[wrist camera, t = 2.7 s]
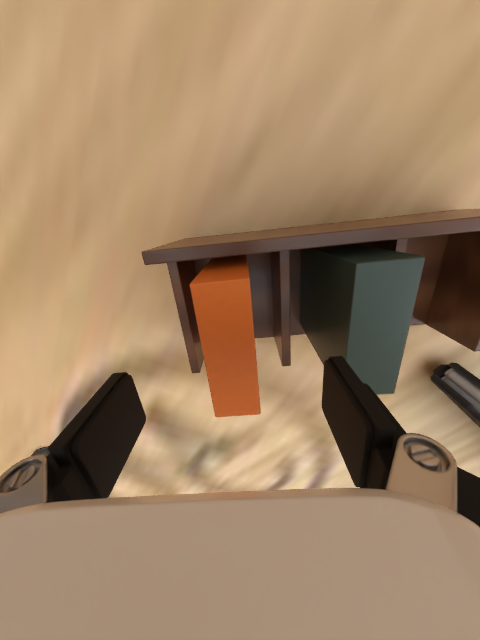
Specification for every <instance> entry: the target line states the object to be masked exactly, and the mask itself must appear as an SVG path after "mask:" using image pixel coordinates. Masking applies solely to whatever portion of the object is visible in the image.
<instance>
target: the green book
mask: <svg viewBox="0 0 480 640" xmlns="http://www.w3.org/2000/svg"><path fill="white" fill-rule="evenodd" d="M424 261H425V257H424V256H419V255H414V254H408V253H403V252H398V251H393V250H388V249H383V248H377V247H372V246H367V245H362V244H348V245H338V246H328V247H318V248H308V249H301V267H300V324H301V326H302V328H303V330H304V331H305V333H306V335H307V337H308V338H309V340H310V342H311V344H312V345H313V347H314V349H315V351H316V352H317V354H318V356H319V358H320V359H321V361H322V363H323V365H324V361H325V360H328V358H329V357H332V356H343V357H344V359H345V360H346V361H347V363H348V364H349V365H350V367H351V368H352V369H353V371H354V372H355V373H356V375H357V376H358V377H359V379H360V380H361V381H362V383H366V384H368V385H369V386H370V387H371V389H372V390H373V391H374V392H375V394H376V395H383V394H393V393H394V391H395V387H396V383H397V378H398V374H399V370H400V365H401V361H402V357H403V352H404V348H405V344H406V339H407V335H408V331H409V326H410V322H411V318H412V313H413V309H414V305H415V300H416V296H417V292H418V287H419V283H420V279H421V274H422V270H423V266H424Z"/></svg>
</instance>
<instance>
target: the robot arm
mask: <svg viewBox="0 0 480 640" xmlns="http://www.w3.org/2000/svg"><path fill="white" fill-rule="evenodd" d="M322 409H323V412H324V415H325V417H326V419H327V422H328V424H329V426H330V429H331V431H332V433H333V436H334V438H335V440H336V443H337V445H338V447H339V450H340V452H341V454H342V457H343V459H344V461H345V464H346V466H347V468H348V471H349V473H350V475H351V478H352V480H353V482H354V484H355V486H356V487H360V488H324V489H291V490H267V491H243V492H221V493H200V494H179V495H158V496H140V497H121V498H108V497H109V495H110V493H111V491H112V489H113V487H114V485H115V483H116V481H117V479H118V477H119V475H120V473H121V471H122V469H123V467H124V465H125V463H126V461H127V459H128V457H129V455H130V453H131V451H132V449H133V447H134V445H135V443H136V441H137V439H138V437H139V434H140V432H141V430H142V428H143V426H144V424H145V421H146V415H145V413H144V410H143V407H142V404H141V401H140V398H139V396H138V393H137V390H136V387H135V384H134V381H133V379H132V376H131V375H128V373H126V372H123V373H114V374H112V375H111V376H110V377H109V378H108V380H107V381H106V382H105V383H104V384H103V385H102V386H101V388H100V389H99V390H98V391H97V392H96V393H95V394H94V396H93V397H92V398H91V399H90V400H89V401H88V402H87V404H86V405H85V406H84V407H83V408H82V409H81V410H80V412H79V413H78V414H77V415H76V416H75V417H74V418H73V420H72V421H71V422H70V423H69V424H68V425H67V426H66V428H65V429H64V430H63V431H62V432H61V433H60V434H59V436H58V437H57V438H56V439H55V440H54V441H53V443H52V444H51V445H50V446H49V447H48V448H47V449H48V450H49V452H50V453H49V454H48V455H47V456H46V457H45V456H43V455H35V456H31V457H28V458H26V459H23V460H21V461H20V462H18V463H16V464H15V465H13V466H12V467H11V468H9V469H8V470H7V471H6V472H4V473H3V474H2V475H1V476H0V640H480V478H479V477H477V476H475V475H473V474H471V473H469V472H466V471H464V470H462V469H460V468H458V467H457V464H456V460H455V459H454V457H453V456H452V454H451V453H450V452H449V451H448V450H447V449H446V448H445V447H444V446H443V445H441V444H440V443H438V442H437V441H435V440H433V439H431V438H429V437H427V436H424V435H421V434H415V433H408V434H407V433H406V432H405V431H404V429H403V428H402V427H401V426H400V424H399V423H398V422H397V421H396V419H395V418H394V417H393V415H392V414H391V413H390V412H389V410H388V409H387V408H386V406H385V405H384V404H383V403H382V401H381V400H380V399H379V398H378V396H377V395H376V394H375V392H374V391H373V390H372V389H371V387H370V386H369V385H368V384H366V383H362V381H361V380H360V379H359V377H358V376H357V375H356V373H355V372H354V371H353V369H352V368H351V367H350V365H349V364H348V363H347V361H346V360H345V359H344V357H343V356H332V357H329V358H328V360H325V361H324V375H323V392H322Z"/></svg>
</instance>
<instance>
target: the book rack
mask: <svg viewBox="0 0 480 640" xmlns="http://www.w3.org/2000/svg"><path fill="white" fill-rule="evenodd" d="M348 244H362V245H367V246H372V247H377V248H383V249H388V250H393V251H398V252H403V253H408V254H414V255H419V256H424V257H425V261H424V266H423V270H422V274H421V279H420V283H419V287H418V292H417V296H416V300H415V305H414V309H413V313H412V318H411V322H410V325H420V324H426V325H428V326H430V327H432V328H433V329H435V330H437V331H439V332H441V333H442V334H444V335H446V336H448V337H449V338H451V339H453V340H455V341H457V342H458V343H460V344H462V345H464V346H466V347H467V348H469V349H471V350H473V351H480V209H465V210H451V211H442V212H432V213H423V214H414V215H404V216H395V217H385V218H376V219H367V220H357V221H348V222H338V223H329V224H319V225H310V226H301V227H291V228H282V229H272V230H263V231H254V232H244V233H235V234H225V235H216V236H206V237H197V238H188V239H182V240H179V241H176V242H172V243H169V244H166V245H162V246H159V247H156V248H152V249H149V250H146V251H143V252H142V256H143V260H144V263H145V265H150V264H160V263H167V265H168V269H169V274H170V278H171V282H172V287H173V291H174V296H175V300H176V304H177V309H178V313H179V318H180V322H181V326H182V331H183V335H184V340H185V344H186V348H187V353H188V357H189V362H190V366H191V370H192V373H200V370H201V367H202V363H203V360H204V356H203V351H202V345H201V340H200V335H199V330H198V325H197V320H196V315H195V310H194V304H193V299H192V294H191V289H190V283H191V282H192V281H193V280H194V279H195V277H196V276H197V275H198V274H199V273H200V271H201V270H202V269H203V268H204V267H205V265H206V264H207V263H208V262H209V261H210V259H211V258H220V257H229V256H239V255H247V262H248V270H249V278H250V289H251V301H252V313H253V325H254V337H255V338H263V337H274V338H275V341H276V345H277V349H278V352H279V356H280V359H281V363H282V366H290V365H291V355H290V335H299V334H306V333H305V331H304V330H303V328H302V326H301V324H300V267H301V249H308V248H318V247H328V246H338V245H348Z"/></svg>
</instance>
